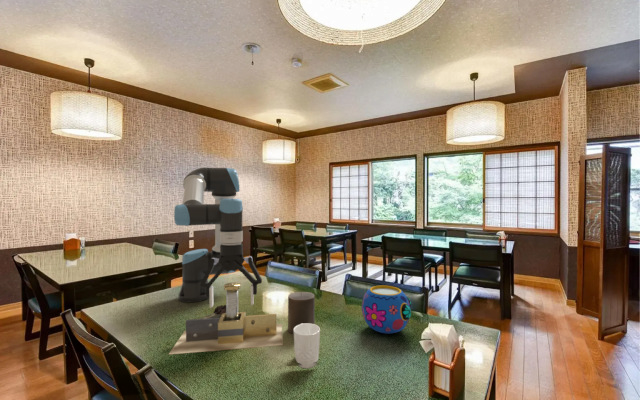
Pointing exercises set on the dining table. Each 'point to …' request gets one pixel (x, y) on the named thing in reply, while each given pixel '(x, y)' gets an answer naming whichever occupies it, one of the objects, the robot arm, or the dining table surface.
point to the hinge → (230, 328)
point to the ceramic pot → (386, 309)
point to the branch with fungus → (216, 312)
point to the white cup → (306, 344)
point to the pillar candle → (300, 309)
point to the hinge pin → (232, 300)
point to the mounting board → (214, 346)
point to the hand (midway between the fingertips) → (232, 305)
